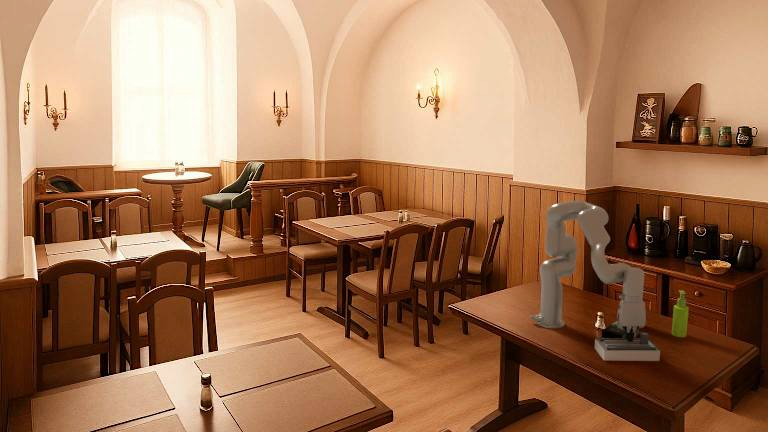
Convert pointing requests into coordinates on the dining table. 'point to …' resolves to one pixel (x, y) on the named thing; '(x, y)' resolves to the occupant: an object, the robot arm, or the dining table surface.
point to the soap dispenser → (680, 317)
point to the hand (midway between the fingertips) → (629, 340)
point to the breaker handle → (644, 338)
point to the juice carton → (616, 331)
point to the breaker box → (626, 350)
